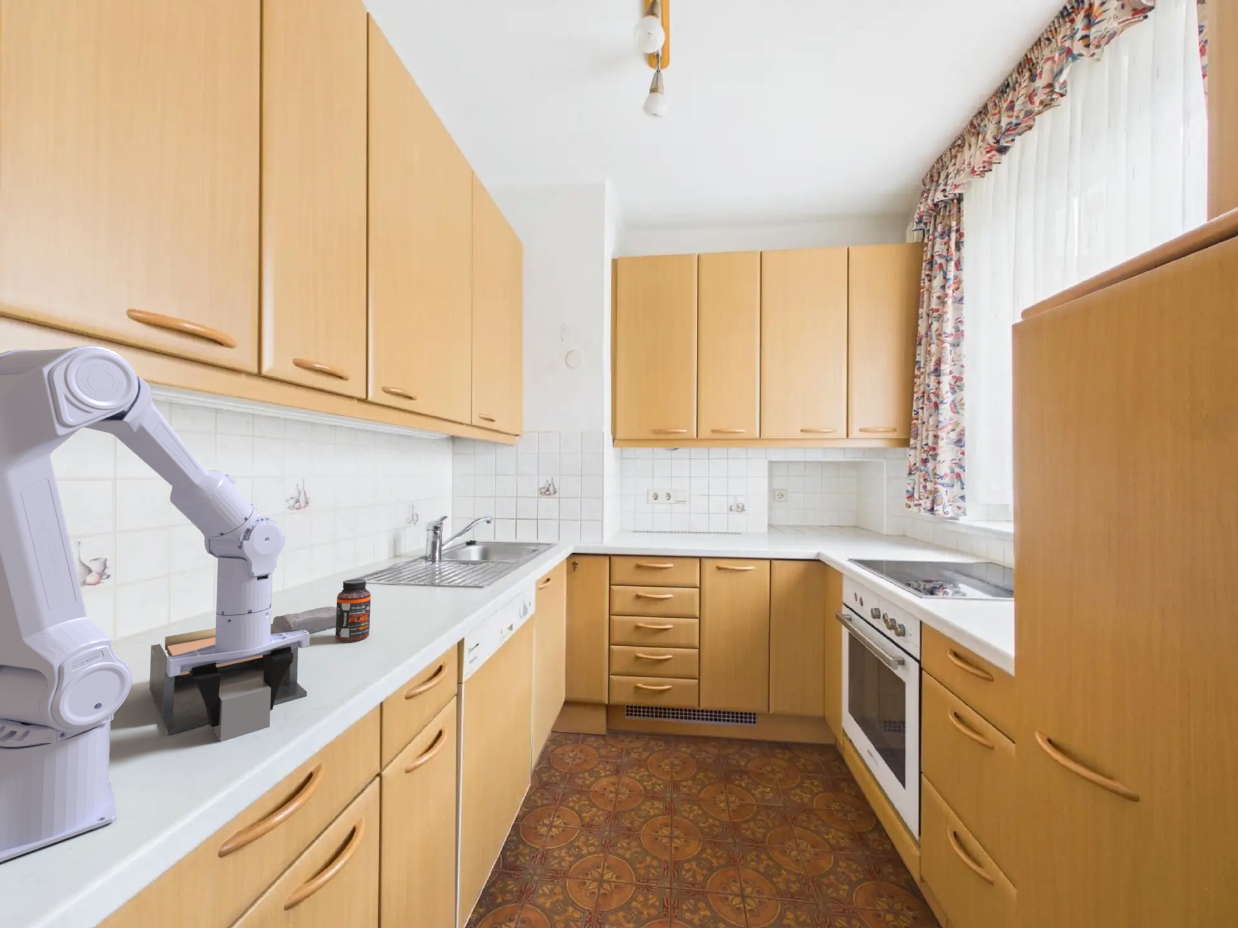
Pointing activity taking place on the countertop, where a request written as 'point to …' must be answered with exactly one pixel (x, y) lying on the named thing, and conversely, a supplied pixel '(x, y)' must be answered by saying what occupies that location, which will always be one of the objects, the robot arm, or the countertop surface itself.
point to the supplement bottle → (353, 611)
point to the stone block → (307, 620)
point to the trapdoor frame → (183, 696)
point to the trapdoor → (194, 644)
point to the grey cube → (243, 708)
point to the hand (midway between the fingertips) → (241, 715)
